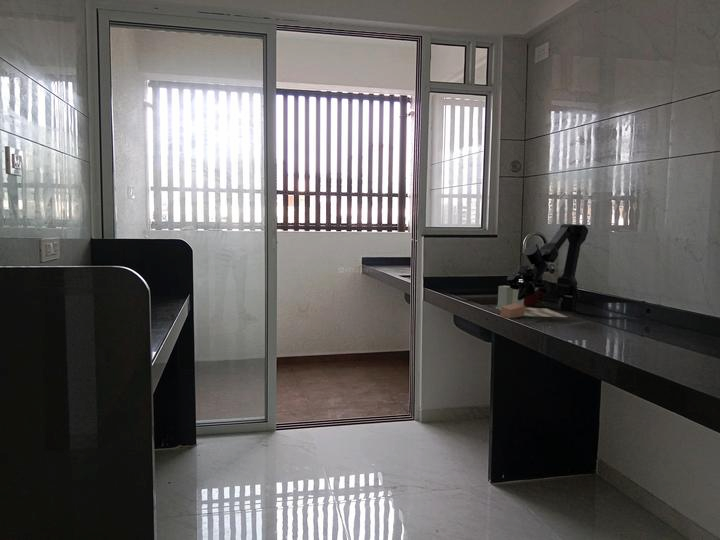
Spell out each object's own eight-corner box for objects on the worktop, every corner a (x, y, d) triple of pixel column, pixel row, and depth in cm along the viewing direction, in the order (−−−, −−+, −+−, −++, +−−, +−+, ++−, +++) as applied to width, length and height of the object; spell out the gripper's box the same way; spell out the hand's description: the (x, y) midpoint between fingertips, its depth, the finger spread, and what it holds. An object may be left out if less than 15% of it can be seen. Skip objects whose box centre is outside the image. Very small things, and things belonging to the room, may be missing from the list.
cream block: (514, 307, 253) (516, 285, 253) (523, 308, 250) (524, 286, 249) (508, 307, 251) (509, 285, 250) (517, 309, 247) (518, 286, 246)
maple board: (546, 310, 254) (546, 308, 254) (568, 319, 231) (568, 317, 231) (494, 309, 252) (494, 306, 252) (510, 317, 229) (511, 315, 229)
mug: (540, 306, 265) (541, 285, 264) (545, 309, 257) (547, 287, 256) (518, 306, 265) (519, 285, 264) (522, 308, 257) (524, 287, 256)
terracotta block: (515, 302, 232) (501, 306, 225) (525, 305, 228) (510, 309, 222) (514, 313, 233) (500, 317, 226) (524, 316, 229) (509, 320, 223)
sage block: (503, 307, 250) (505, 285, 249) (512, 309, 247) (513, 286, 246) (497, 308, 247) (498, 286, 246) (505, 310, 244) (507, 287, 243)
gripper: (510, 257, 238) (492, 283, 232) (548, 260, 224) (530, 289, 218) (520, 274, 244) (502, 301, 238) (558, 279, 229) (541, 307, 224)
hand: (518, 299), depth 229 cm, fingers closed
